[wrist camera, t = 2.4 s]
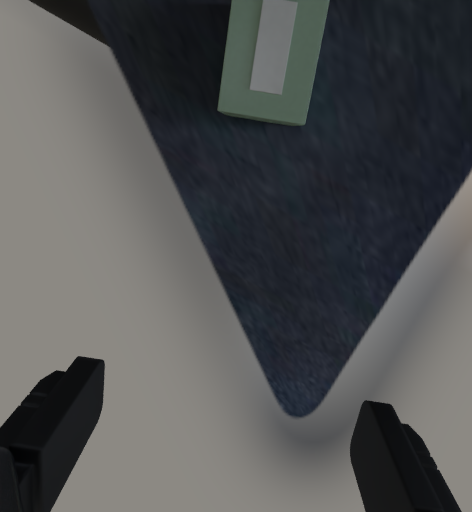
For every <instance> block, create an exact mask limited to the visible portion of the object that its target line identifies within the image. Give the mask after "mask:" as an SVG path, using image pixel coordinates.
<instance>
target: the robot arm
mask: <svg viewBox="0 0 472 512" xmlns="http://www.w3.org/2000/svg"><path fill="white" fill-rule="evenodd" d="M104 369H105V364H104V361H103V360H101V359H94V358H87V357H81V356H78V357H77V358H76V359H75V360H74V362H73V363H72V364H71V365H70V367H69V368H68V369H67V371H66V372H64V371H57V370H56V371H54V372H53V373H51V374H50V375H48V376H46V377H45V378H43V379H42V380H40V381H39V382H38V384H37V385H36V386H35V387H34V388H33V389H32V391H31V392H30V394H29V395H27V397H26V398H25V399H24V400H23V401H22V402H21V405H20V406H18V407H17V408H16V410H15V411H14V412H13V413H12V414H11V416H10V417H9V418H8V419H7V420H6V422H5V423H4V424H3V425H2V426H1V427H0V512H50V511H51V509H52V507H53V506H54V504H55V502H56V500H57V498H58V496H59V494H60V492H61V490H62V488H63V487H64V485H65V483H66V481H67V479H68V477H69V475H70V473H71V471H72V469H73V468H74V466H75V464H76V462H77V460H78V458H79V456H80V454H81V453H82V451H83V449H84V447H85V445H86V443H87V441H88V439H89V437H90V435H91V434H92V432H93V430H94V428H95V426H96V424H97V422H98V420H99V417H100V414H101V410H102V405H103V390H104ZM350 457H351V463H352V466H353V469H354V473H355V476H356V480H357V483H358V487H359V490H360V493H361V497H362V500H363V504H364V508H365V511H366V512H461V510H460V508H459V506H458V504H457V502H456V501H455V499H454V497H453V495H452V493H451V491H450V489H449V488H448V486H447V484H446V482H445V480H444V478H443V476H442V475H441V473H440V471H439V470H437V465H436V464H435V462H434V460H433V458H432V457H430V453H429V451H428V449H427V447H426V445H425V443H424V441H423V440H422V438H421V437H420V436H419V435H418V434H417V433H416V432H415V431H414V430H413V429H412V428H411V427H410V426H409V425H408V424H402V423H401V422H400V420H399V418H398V416H397V414H396V412H395V410H394V408H393V406H392V405H390V404H386V403H380V402H373V401H367V400H366V401H364V402H363V404H362V406H361V409H360V412H359V416H358V419H357V423H356V426H355V429H354V432H353V436H352V439H351V444H350Z"/></svg>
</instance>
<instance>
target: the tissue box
mask: <svg viewBox="0 0 472 512" xmlns="http://www.w3.org/2000/svg"><path fill="white" fill-rule="evenodd" d="M329 1H330V0H232V2H231V10H230V18H229V26H228V33H227V41H226V49H225V56H224V64H223V72H222V79H221V87H220V95H219V102H218V111H219V112H221V113H223V114H225V115H228V116H234V117H240V118H246V119H252V120H259V121H265V122H271V123H277V124H283V125H289V126H297V125H305V122H306V117H307V112H308V107H309V102H310V97H311V92H312V87H313V82H314V77H315V71H316V66H317V61H318V56H319V51H320V46H321V41H322V36H323V31H324V26H325V21H326V16H327V11H328V6H329Z"/></svg>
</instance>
